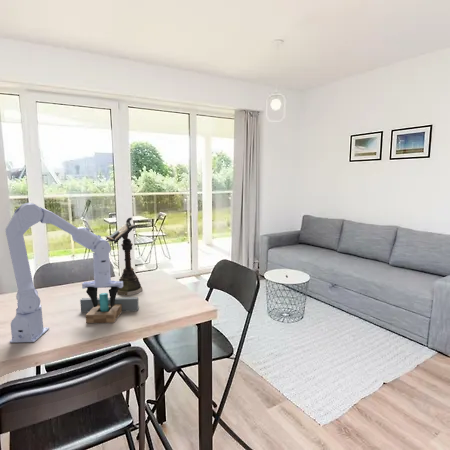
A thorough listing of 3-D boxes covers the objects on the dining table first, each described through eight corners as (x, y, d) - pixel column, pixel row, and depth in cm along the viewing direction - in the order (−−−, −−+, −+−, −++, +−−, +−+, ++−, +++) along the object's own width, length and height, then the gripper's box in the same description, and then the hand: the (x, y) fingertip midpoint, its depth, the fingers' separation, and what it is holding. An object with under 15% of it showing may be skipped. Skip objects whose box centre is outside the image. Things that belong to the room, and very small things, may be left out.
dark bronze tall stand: (110, 300, 138) (105, 219, 133) (102, 291, 148) (98, 217, 143) (147, 292, 147) (144, 217, 142) (137, 285, 158) (134, 214, 153)
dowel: (107, 318, 119) (106, 295, 118) (99, 318, 119) (98, 295, 118) (110, 315, 122) (108, 292, 121) (102, 315, 122) (100, 293, 121)
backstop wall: (137, 311, 126) (136, 298, 126) (81, 312, 126) (80, 299, 125) (140, 306, 131) (139, 295, 130) (85, 307, 130) (84, 295, 129)
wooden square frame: (114, 322, 116) (113, 314, 116) (86, 322, 116) (85, 315, 115) (121, 311, 126) (121, 304, 126) (96, 311, 126) (95, 304, 125)
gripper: (124, 267, 123) (126, 301, 124) (86, 268, 122) (88, 302, 124) (119, 273, 116) (121, 308, 117) (78, 273, 115) (81, 309, 117)
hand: (104, 306), depth 120 cm, fingers open, 6 cm apart
